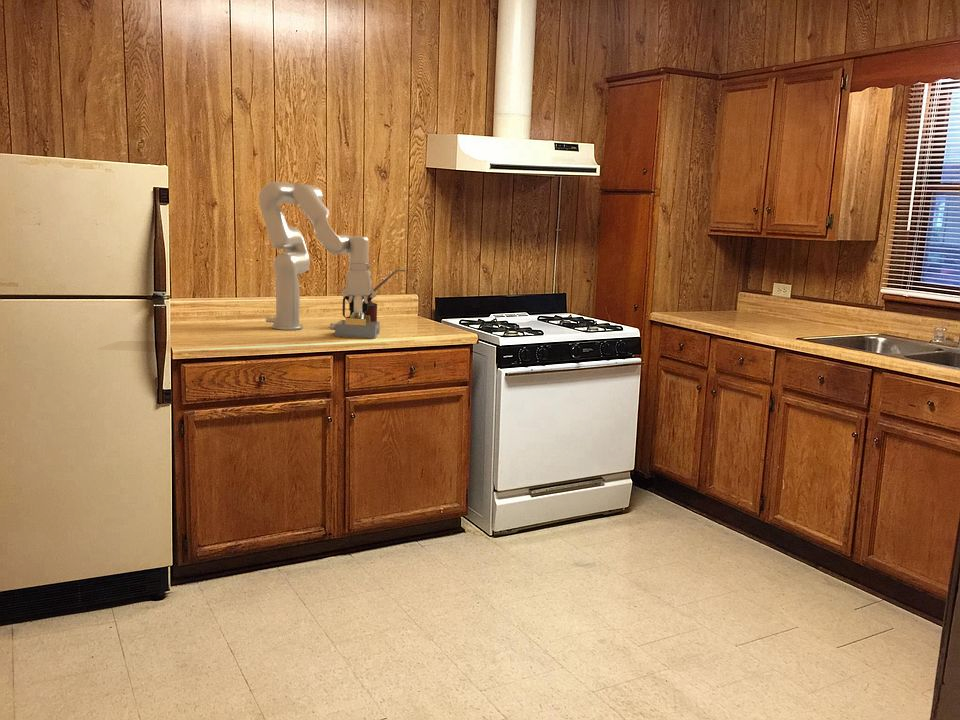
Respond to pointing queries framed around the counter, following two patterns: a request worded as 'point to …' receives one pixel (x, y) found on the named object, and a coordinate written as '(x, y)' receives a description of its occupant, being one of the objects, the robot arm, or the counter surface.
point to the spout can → (358, 306)
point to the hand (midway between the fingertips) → (358, 312)
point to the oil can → (371, 306)
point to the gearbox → (356, 327)
